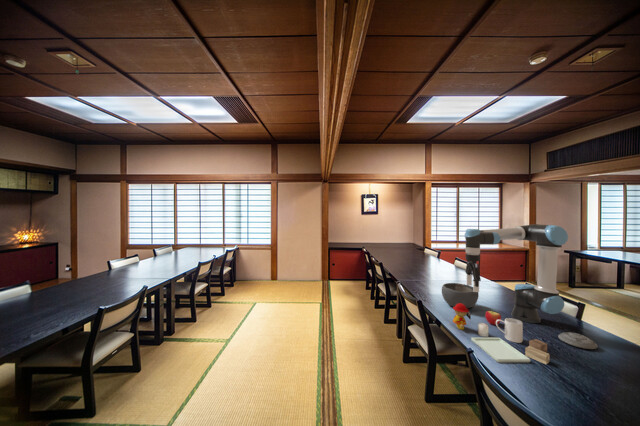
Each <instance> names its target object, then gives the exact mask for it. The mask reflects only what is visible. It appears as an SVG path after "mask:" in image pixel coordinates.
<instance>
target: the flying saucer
mask: <svg viewBox="0 0 640 426" xmlns="http://www.w3.org/2000/svg"><path fill="white" fill-rule="evenodd" d="M557 337H558V339H559V340H560V341H562V342H564V343H566V344H567V345H571V346H573V347H577V348H581V349H585V350H596V349H598V344H597V343H596V342H595V341H594V340H593V339H591V338H590V337H587V336H585V335H583V334H580V333H576V332H570V331H569V332H566V331H565V332H561V333H560V334H558V336H557Z"/></svg>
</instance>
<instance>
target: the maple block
mask: <svg viewBox="0 0 640 426" xmlns="http://www.w3.org/2000/svg"><path fill="white" fill-rule="evenodd" d="M524 350H525V354H524V355H525V356H526V357H528V358H529V359H533V360H535V361H537V362H539V363H541V364H543V365H547V364H549V363H550V353H548V352H547V353H545V352H543V351H540V350H538V349H535V348H533V347H530V346H529V345H528V346H526V347H525V349H524Z"/></svg>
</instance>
